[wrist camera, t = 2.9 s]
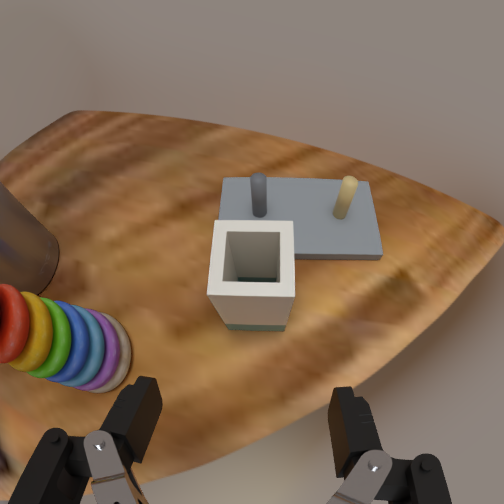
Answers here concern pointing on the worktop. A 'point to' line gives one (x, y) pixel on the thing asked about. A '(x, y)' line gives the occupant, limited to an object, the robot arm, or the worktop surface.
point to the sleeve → (252, 273)
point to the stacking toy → (62, 341)
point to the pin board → (310, 213)
